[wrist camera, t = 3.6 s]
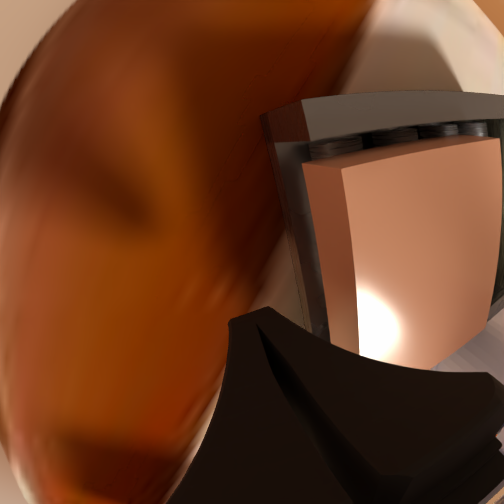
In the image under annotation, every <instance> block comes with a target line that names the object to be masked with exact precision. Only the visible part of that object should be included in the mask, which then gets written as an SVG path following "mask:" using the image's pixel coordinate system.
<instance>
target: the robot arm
mask: <svg viewBox="0 0 504 504" xmlns="http://www.w3.org/2000/svg"><path fill="white" fill-rule="evenodd" d="M228 326H229V346H228V354H227V362H226V368H225V373H224V378H223V382H222V387H221V391H220V394H219V398H218V401H217V405H216V408H215V411H214V414H213V416H212V419H211V422H210V424H209V427H208V429H207V432H206V434H205V437H204V439H203V441H202V443H201V445H200V448H199V450H198V452H197V453H196V455H195V457H194V459H193V461H192V463H191V465H190V466H189V468H188V470H187V472H186V474H185V475H184V477H183V479H182V481H181V482H180V484H179V485H178V487H177V488H176V490H175V491H174V493H173V494H172V496H171V497H170V498H169V500H168V501H167V503H166V504H486V503H487V502H488V501H489V500H490V499H491V498H492V497H493V496H494V495H495V494H497V493H498V492H499V491H500V489H502V488H503V487H504V308H503V309H502V310H501V311H500V312H499V313H497V314H496V315H495V316H494V317H493V318H492V319H491V320H489V321H488V322H487V323H486V327H485V329H483V330H482V331H481V332H480V333H478V334H477V335H476V336H475V337H473V338H472V339H471V340H470V341H468V342H467V343H466V344H465V345H463V346H462V347H461V348H459V349H458V350H457V351H455V352H454V353H453V354H451V355H450V356H448V357H447V358H446V359H444V360H443V361H441V362H440V363H438V364H437V365H436V366H434V367H433V368H431V369H430V370H424V369H416V368H410V367H404V366H400V365H395V364H391V363H386V362H382V361H378V360H375V359H371V358H368V357H365V356H362V355H359V354H356V353H353V352H350V351H348V350H345V349H343V348H340V347H338V346H336V345H334V344H332V343H329V342H327V341H325V340H323V339H321V338H319V337H317V336H315V335H314V334H312V333H310V332H308V331H307V330H305V329H303V328H301V327H300V326H298V325H296V324H295V323H293V322H292V321H290V320H288V319H287V318H285V317H284V316H282V315H281V314H280V313H278V312H277V311H275V310H274V309H273V308H271V307H269V306H267V307H264V308H262V309H259V310H256V311H253V312H250V313H247V314H244V315H241V316H238V317H235V318H233V319H230V321H229V322H228ZM496 434H498V435H497V436H496ZM493 504H504V494H503V495H502V496H501V497H500V498H499V499H498V500H497V501H495V502H494V503H493Z"/></svg>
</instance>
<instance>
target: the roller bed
mask: <svg viewBox="0 0 504 504" xmlns="http://www.w3.org/2000/svg"><path fill="white" fill-rule="evenodd" d="M260 119H261V123H262V127H263V131H264V135H265V139H266V143H267V147H268V152H269V156H270V160H271V164H272V169H273V173H274V177H275V182H276V186H277V190H278V195H279V199H280V204H281V208H282V213H283V218H284V222H285V227H286V232H287V236H288V241H289V246H290V251H291V256H292V260H293V265H294V270H295V275H296V280H297V286H298V291H299V296H300V301H301V307H302V312H303V317H304V323H305V328H306V330H307V331H308V332H310V333H312V334H314V335H315V336H317V337H319V338H321V339H323V340H325V341H327V342H329V343H331V340H330V331H329V323H328V315H327V307H326V300H325V293H324V286H323V279H322V272H321V266H320V260H319V253H318V247H317V241H316V235H315V230H314V224H313V218H312V213H311V208H310V202H309V197H308V192H307V187H306V182H305V177H304V172H303V167H302V163H305V162H309V161H314V160H318V159H322V158H327V157H331V156H336V155H340V154H345V153H350V152H355V151H360V150H365V149H370V148H375V147H380V146H386V145H391V144H397V143H403V142H409V141H415V140H421V139H428V138H434V137H441V136H449V135H456V134H460V135H472V136H483V137H492V138H500V148H501V164H502V219H501V235H500V246H499V255H498V263H497V271H496V277H495V284H494V289H493V295H492V300H491V305H490V310H489V314H488V319H487V322H488V321H489V320H491V319H492V318H493V317H494V316H495V315H496V314H497V313H499V312H500V311H501V310H502V309H503V308H504V95H495V94H486V93H474V92H458V91H385V92H368V93H355V94H344V95H335V96H326V97H318V98H310V99H303V100H299V101H296V102H294V103H291V104H288V105H285V106H283V107H280V108H277V109H275V110H272V111H270V112H267V113H264V114H262V115H260Z"/></svg>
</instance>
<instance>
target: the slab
mask: <svg viewBox="0 0 504 504" xmlns="http://www.w3.org/2000/svg"><path fill="white" fill-rule="evenodd" d="M302 167H303V172H304V177H305V182H306V187H307V192H308V197H309V202H310V208H311V213H312V218H313V224H314V230H315V235H316V241H317V247H318V253H319V260H320V266H321V272H322V279H323V286H324V293H325V300H326V307H327V315H328V323H329V331H330V340H331V343H332V344H334V345H336V346H338V347H340V348H343V349H345V350H348V351H350V352H353V353H356V354H359V355H362V356H365V357H368V358H371V359H375V360H378V361H382V362H386V363H391V364H395V365H400V366H404V367H410V368H416V369H424V370H430V369H431V368H433V367H434V366H436V365H437V364H438V363H440V362H441V361H443V360H444V359H446V358H447V357H448V356H450V355H451V354H453V353H454V352H455V351H457V350H458V349H459V348H461V347H462V346H463V345H465V344H466V343H467V342H468V341H470V340H471V339H472V338H473V337H475V336H476V335H477V334H478V333H480V332H481V331H482V330H483V329H485V327H486V323H487V319H488V314H489V310H490V305H491V300H492V295H493V289H494V284H495V277H496V271H497V263H498V255H499V246H500V235H501V219H502V164H501V148H500V138H492V137H483V136H472V135H460V134H456V135H449V136H441V137H434V138H428V139H421V140H415V141H409V142H403V143H397V144H391V145H386V146H380V147H375V148H370V149H365V150H360V151H355V152H350V153H345V154H340V155H336V156H331V157H327V158H322V159H318V160H314V161H309V162H305V163H302Z"/></svg>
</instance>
